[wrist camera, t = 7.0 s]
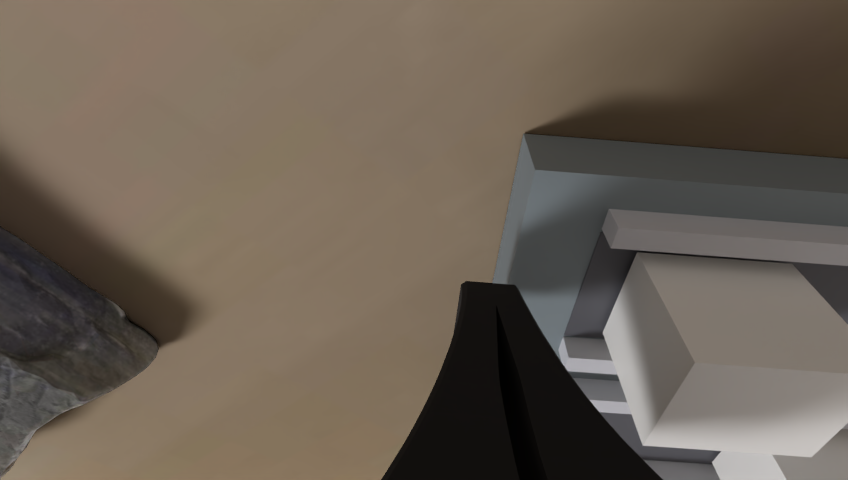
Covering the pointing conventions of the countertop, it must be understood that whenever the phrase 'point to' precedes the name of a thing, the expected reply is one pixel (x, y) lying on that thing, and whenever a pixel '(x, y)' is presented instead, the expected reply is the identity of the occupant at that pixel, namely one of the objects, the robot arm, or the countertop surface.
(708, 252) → the switch panel
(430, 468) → the robot arm
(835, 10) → the countertop surface
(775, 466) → the tab middle
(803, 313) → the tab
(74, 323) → the grey rock
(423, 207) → the countertop surface
